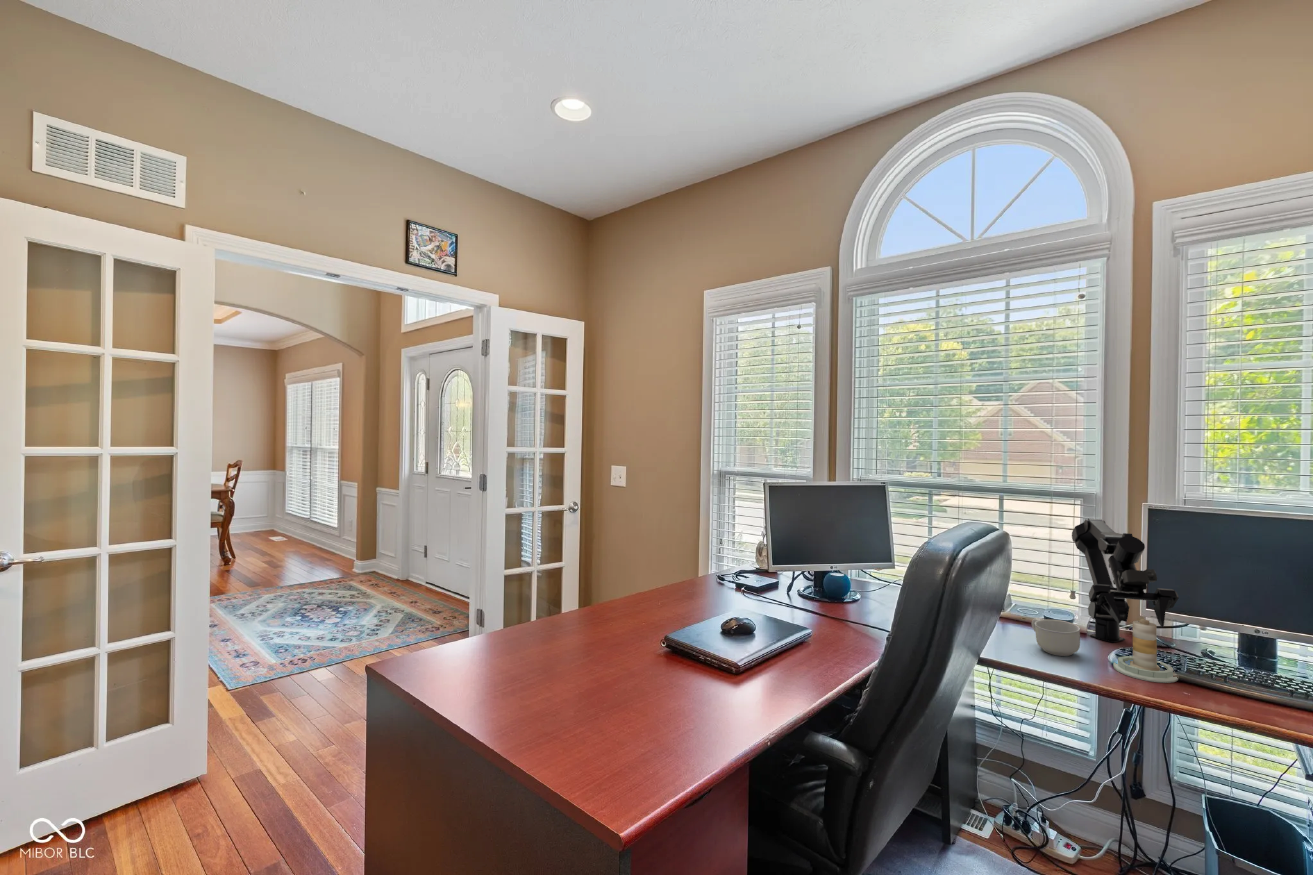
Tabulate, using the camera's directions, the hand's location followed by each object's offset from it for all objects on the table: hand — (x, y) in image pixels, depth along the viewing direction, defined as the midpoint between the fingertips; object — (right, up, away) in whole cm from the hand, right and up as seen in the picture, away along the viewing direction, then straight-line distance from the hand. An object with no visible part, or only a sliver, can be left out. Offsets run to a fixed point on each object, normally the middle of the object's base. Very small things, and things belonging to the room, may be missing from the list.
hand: (1140, 624), depth 155 cm
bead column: (-1, -11, -2) cm, 11 cm away
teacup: (-14, -12, +14) cm, 23 cm away
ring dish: (-1, -12, -2) cm, 12 cm away
